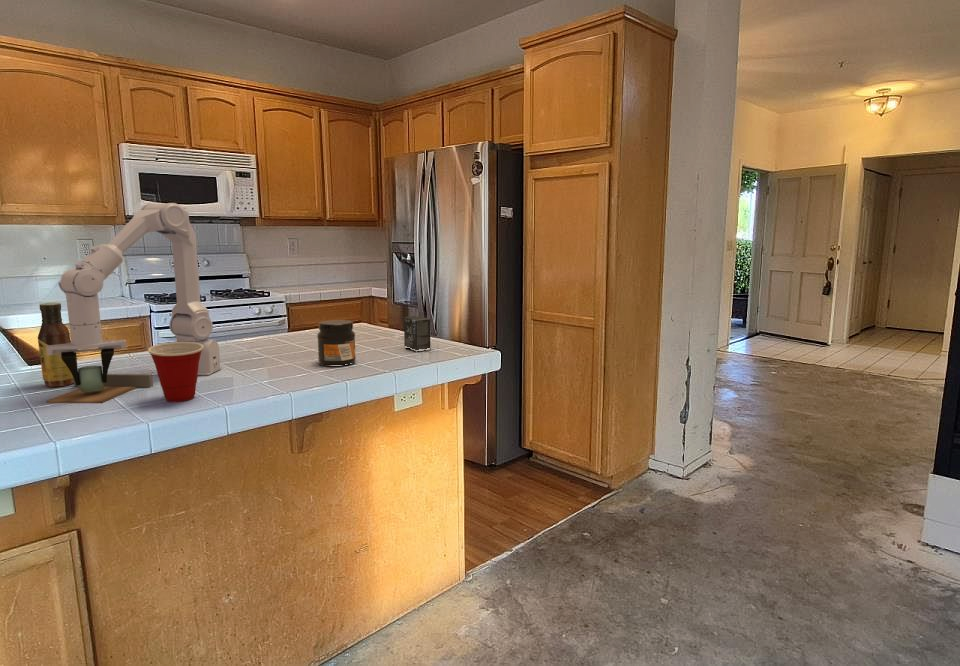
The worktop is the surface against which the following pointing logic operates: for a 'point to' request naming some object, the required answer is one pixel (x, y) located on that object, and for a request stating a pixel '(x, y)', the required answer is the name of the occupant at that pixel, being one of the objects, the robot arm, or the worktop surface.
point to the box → (417, 332)
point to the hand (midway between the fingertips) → (91, 383)
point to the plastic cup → (177, 368)
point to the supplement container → (336, 342)
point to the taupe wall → (127, 380)
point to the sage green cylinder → (91, 378)
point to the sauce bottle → (53, 334)
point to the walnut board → (90, 395)
